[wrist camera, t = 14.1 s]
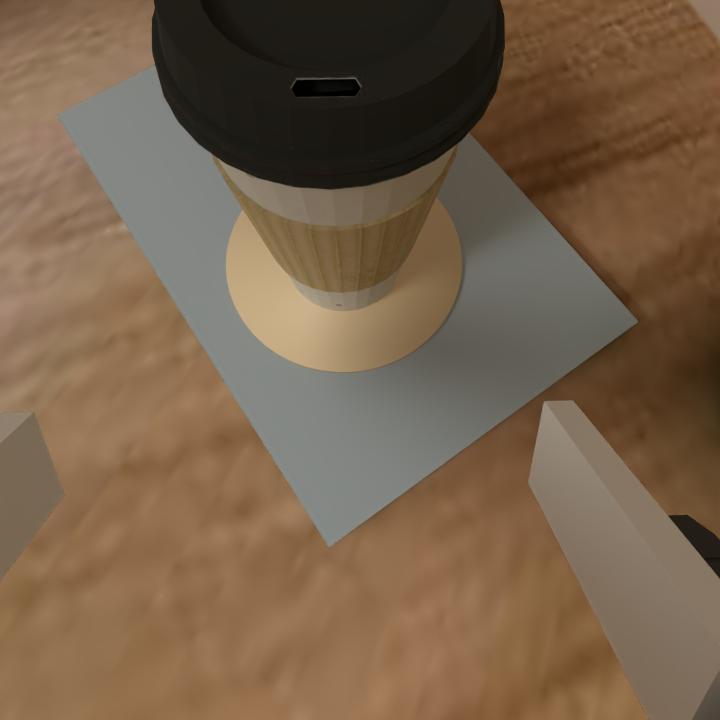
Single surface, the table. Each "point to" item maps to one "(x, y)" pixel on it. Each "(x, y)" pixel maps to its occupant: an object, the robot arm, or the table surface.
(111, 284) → the table surface
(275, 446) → the gear board
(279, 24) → the coffee cup
